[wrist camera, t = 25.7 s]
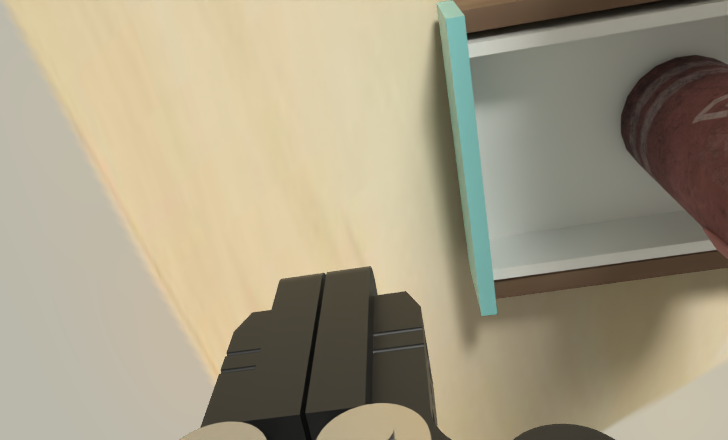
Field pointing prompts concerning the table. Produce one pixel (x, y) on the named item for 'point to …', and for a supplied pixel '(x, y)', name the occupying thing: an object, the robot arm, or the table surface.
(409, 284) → the table surface
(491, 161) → the tray
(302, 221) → the table surface
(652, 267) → the tray stand
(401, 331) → the robot arm
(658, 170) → the can
